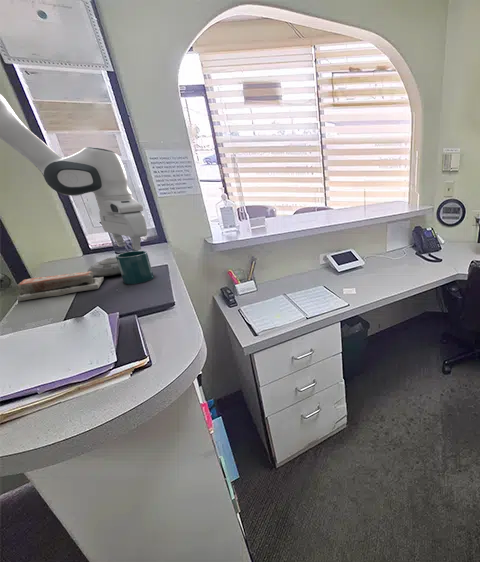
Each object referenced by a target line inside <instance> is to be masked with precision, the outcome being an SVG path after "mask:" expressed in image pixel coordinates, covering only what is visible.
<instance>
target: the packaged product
mask: <svg viewBox="0 0 480 562" xmlns="http://www.w3.org/2000/svg"><path fill="white" fill-rule="evenodd" d="M104 280H105V279H104V276H98V277H94V276H93V272H91V271H89V272H87V271H81V272H74V273H73V272H72V273H65V274H57V275H56V274H55V275H48V276H41V277H32V278H27V279H26V278H25V279H23V280H22V281H20V282H19V283H18V284H17V285H16V290H17V291H18V293H19V294H18V295H17V297H16V299H17V301H18V302H22V301H23V302H24V301H29V300H35V299H42V298H50V297H58V296H63V295H67V294H73V293H80V292H85V291H93V290H99V288H100V286H101V285H102V283H103V282H104Z"/></svg>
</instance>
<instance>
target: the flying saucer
mask: <svg viewBox="0 0 480 562" xmlns="http://www.w3.org/2000/svg"><path fill="white" fill-rule="evenodd" d="M89 271H91V272H93V277H112V276H117V275H121V272H120V268H119V265H118V262H117V259H116V256H111V257H107V258H105V259H102V260H100V261H98V262H96V263H94V264H93V265H91V266H90V267H89V268H88V269H87V271H86V272H89Z"/></svg>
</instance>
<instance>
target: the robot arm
mask: <svg viewBox="0 0 480 562" xmlns="http://www.w3.org/2000/svg"><path fill="white" fill-rule="evenodd" d="M0 140H2V141H3V142H4V143H6V144H7V145H9V146H10V147H11V148H12V149H13V150H15V151H16V152H17V153H19V154H20V155H21V156H22V157H24V158H25V159H26V160H28V162H30V163H31V164H32V165H33V166H35V167H36V168H37V170H39V172H40V173H41V174H42V176H43V178H44V181H45V183H46V184H47V185H48V186H49V187H50V188H51V189H52V190H54V191H55V192H57V193H59V194H61V195H64V196H70V197H77V196H83V195H85V194H89V193H93V195H94V197H95V200H96V203H97V206H98V210H99V212H98V213H99V218H100V222H101V226H102V229H103V231H104V232H105V233H108V234H111V235H112V238H113V239H114V241H115V242H116V244H117V247H119V248H123V247H126V246H127V244H126V241H125V240H124V238H123V236H125V237H129V238H130V240H131V243H132V244H131V247H132V251H142V246H141V242H142V238H143V237H147V235H148V228H147V223H146V219H145V216H144V213H143V212H144V206H143V204H142V203H140V202H139V201H137V200H136V199H135V198H134V196H133V193H132V191H131V189H130V187H129V183H128V182H129V179H128V175H127V171H126V169H125V166H124V162H123V161H122V159H121V157H120V155H119V154H117V153H116V152H115V151H113V150H110V149H107V148H101V147H93V146H85V147H83V148H82V149H81V150H80V151H78V152H76V153H74V154H72V155H69V156H66V157H63V156H61V155H60V154H59V153H57V152H56V151H54V150H53V149H52V148H51V147H50V146H49V145H47V144H46V143H45V142H44V141H43V140H42V139H41V138H39V137H38V135H36V134H35V133H34V132H33V131H32V130H30V129H29V128H28V127H27V126H26V125H25V124H24V122H23V121H21V119H20V118H19V117H18V115H17V114H16V113H15V111H14V110H13V108H12V107H11V105H10V104H9V102H8V101H7V100H6V98H5V97H4V96H3V94H1V93H0Z"/></svg>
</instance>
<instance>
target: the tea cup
mask: <svg viewBox="0 0 480 562" xmlns="http://www.w3.org/2000/svg"><path fill="white" fill-rule="evenodd" d="M115 257H116V259H117V262H118V265H119V268H120V272H121V274H120V275H121V278H122V281H123V283H124V284H126V285H136V284H141V283H146V282H148V281H151V280H153V279H154V278H155V276H154V272H153V269H152V265H151V261H150V258H149V255H148V251H147V250H137V251H136V250H132V251H126V252H121V253H118V254H116V255H115Z"/></svg>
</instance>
